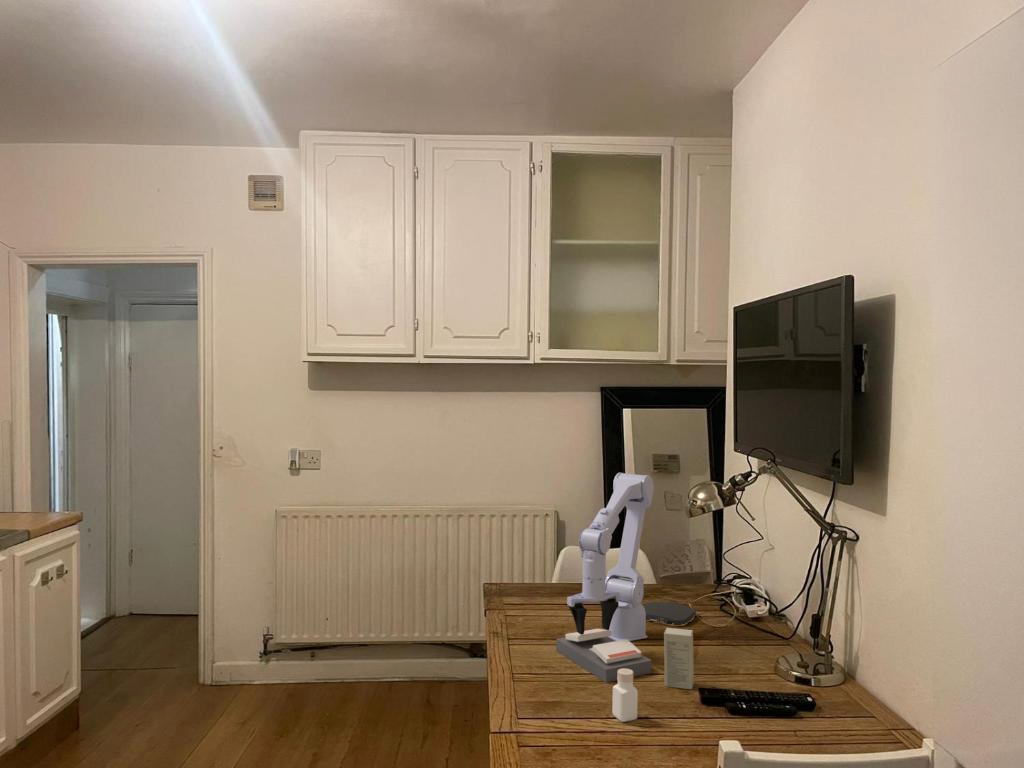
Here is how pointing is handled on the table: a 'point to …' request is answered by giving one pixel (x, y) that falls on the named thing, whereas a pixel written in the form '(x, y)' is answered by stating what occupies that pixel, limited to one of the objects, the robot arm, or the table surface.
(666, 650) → the skincare box
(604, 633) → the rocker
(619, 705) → the white pill bottle
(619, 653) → the rocker
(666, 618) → the media streaming box
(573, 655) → the rocker switch panel
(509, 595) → the table surface
